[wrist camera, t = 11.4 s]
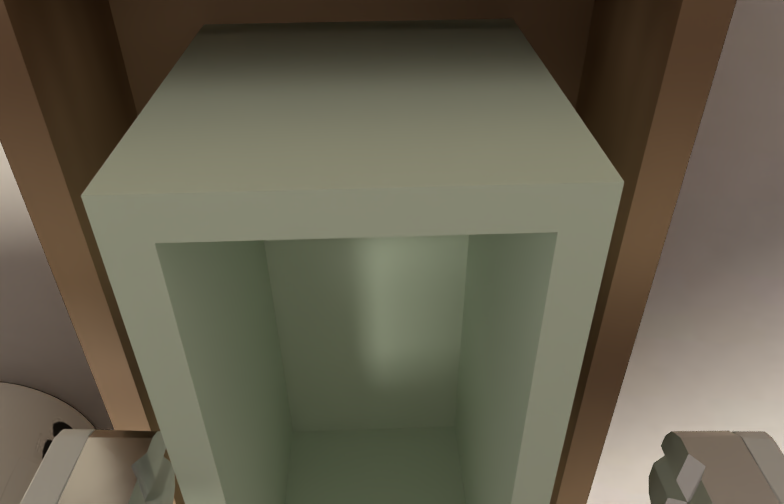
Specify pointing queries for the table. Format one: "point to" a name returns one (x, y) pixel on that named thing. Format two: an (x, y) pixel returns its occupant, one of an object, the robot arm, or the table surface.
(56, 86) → the walnut crate
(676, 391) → the table surface
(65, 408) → the cup
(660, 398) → the table surface
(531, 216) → the sage crate
